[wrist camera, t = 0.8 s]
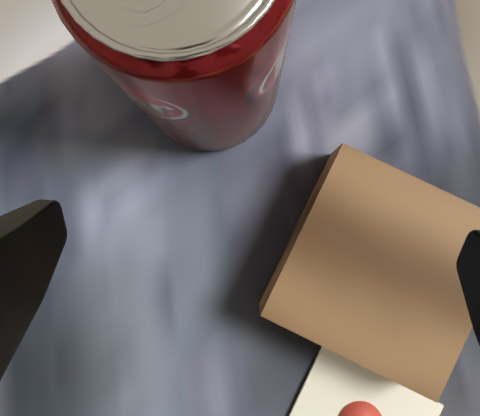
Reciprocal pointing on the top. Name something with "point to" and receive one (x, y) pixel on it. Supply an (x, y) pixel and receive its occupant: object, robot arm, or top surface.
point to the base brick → (377, 272)
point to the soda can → (189, 60)
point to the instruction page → (356, 392)
